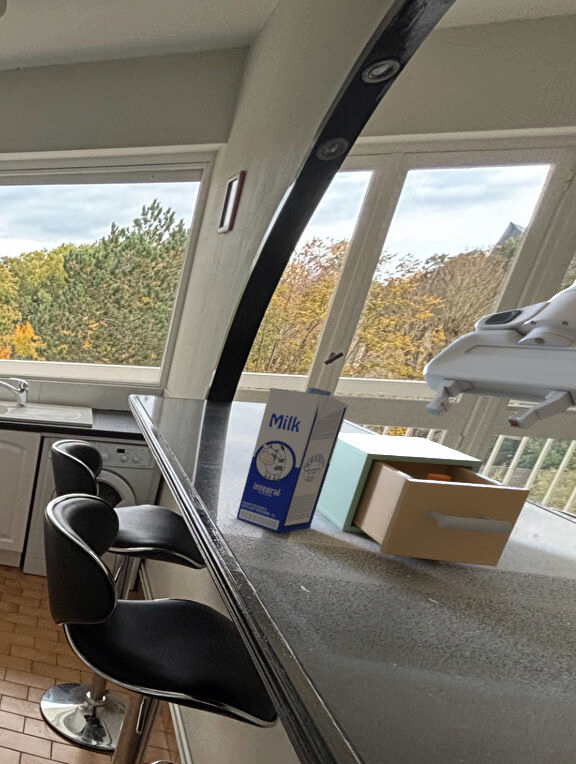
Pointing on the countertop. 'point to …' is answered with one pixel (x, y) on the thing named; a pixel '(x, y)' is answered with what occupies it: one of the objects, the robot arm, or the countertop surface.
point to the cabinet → (355, 464)
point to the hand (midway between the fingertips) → (472, 418)
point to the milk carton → (291, 459)
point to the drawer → (438, 512)
